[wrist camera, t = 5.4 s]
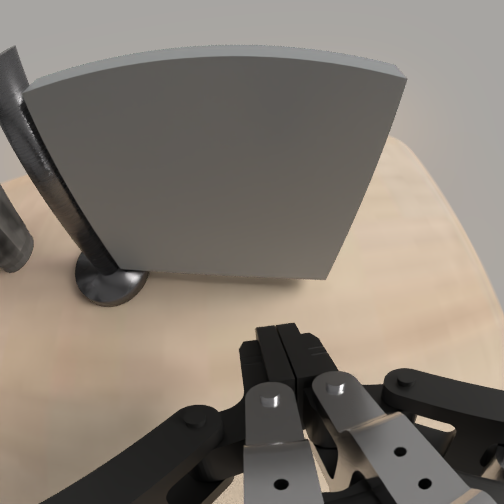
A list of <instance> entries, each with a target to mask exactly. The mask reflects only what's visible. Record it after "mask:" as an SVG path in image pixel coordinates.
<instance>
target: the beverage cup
mask: <svg viewBox="0 0 504 504" xmlns="http://www.w3.org/2000/svg"><path fill="white" fill-rule="evenodd" d="M32 250H33V238H32V236H31V235H30V233H29V231H28V230H27V228H26V226H25V224H24V222H23V221H22V219H21V218H20V216H19V215H18V213H17V212H16V210H15V208H14V207H13V205H12V203H11V202H10V200H9V198H8V197H7V195H6V193H5V192H4V190H3V188H2V186H1V185H0V268H2V269H4V270H5V271H6V272H9V273H11V272H15V271H17V270H19V269H20V268H21V267H22V266H24V264H25V263H26V262H27V261H28V259H29V257H30V255H31V253H32Z"/></svg>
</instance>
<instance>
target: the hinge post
mask: <svg viewBox="0 0 504 504" xmlns="http://www.w3.org/2000/svg"><path fill="white" fill-rule="evenodd" d="M29 86H30V85H29V83H28V80H27V78H26V75H25V72H24V69H23V67H22V64H21V61H20V58H19V55H18V52H17V49H16V46H13V47H11V48H9V49H7V50H5V51H3V52H2V53H0V126H1V127H2V130H3V131H4V133H5V135H6V137H7V139H8V141H9V143H10V145H11V146H12V148H13V150H14V151H15V153H16V155H17V157H18V159H19V160H20V162H21V164H22V165H23V167H24V168H25V170H26V172H27V174H28V175H29V177H30V178H31V180H32V182H33V183H34V185H35V186H36V188H37V189H38V191H39V193H40V194H41V196H42V197H43V199H44V200H45V202H46V203H47V204H48V206H49V207H50V209H51V210H52V212H53V213H54V215H55V216H56V217H57V219H58V220H59V222H60V223H61V224H62V226H63V227H64V228H65V230H66V231H67V233H68V234H69V235H70V237H71V238H72V239H73V241H74V242H75V243H76V244H77V246H78V247H79V248H80V250H81V251H82V253H81V254H80V256H79V258H78V261H77V264H76V269H75V278H76V282H77V285H78V287H79V289H80V291H81V292H82V293H83V294H84V295H85V296H86V297H87V298H88V299H89V300H90V301H92V302H93V303H95V304H97V305H100V306H104V307H113V306H118V305H121V304H123V303H125V302H127V301H129V300H130V299H132V298H133V297H134V296H135V295H137V293H138V292H139V291H140V290H141V289H142V287H143V286H144V284H145V282H146V280H147V278H148V274H149V271H142V270H128V269H120V267H119V266H118V264H117V263H116V262H115V260H114V259H113V257H112V256H111V254H110V253H109V252H108V250H107V249H106V247H105V246H104V244H103V243H102V241H101V240H100V238H99V237H98V235H97V234H96V232H95V231H94V229H93V227H92V226H91V224H90V223H89V221H88V220H87V218H86V216H85V215H84V213H83V212H82V210H81V208H80V207H79V205H78V203H77V202H76V200H75V198H74V197H73V195H72V193H71V192H70V190H69V188H68V186H67V185H66V183H65V181H64V179H63V178H62V176H61V174H60V172H59V170H58V169H57V167H56V165H55V163H54V161H53V159H52V157H51V155H50V153H49V152H48V150H47V148H46V146H45V144H44V142H43V140H42V138H41V136H40V134H39V132H38V129H37V127H36V125H35V123H34V121H33V119H32V117H31V114H30V112H29V110H28V108H27V105H26V103H25V101H24V98H23V96H22V93H23V92H24V91H25V90H26V89H27V88H28V87H29Z"/></svg>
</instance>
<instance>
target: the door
mask: <svg viewBox="0 0 504 504" xmlns="http://www.w3.org/2000/svg"><path fill="white" fill-rule="evenodd" d="M406 82H407V78H406V77H405V75H404V74H403V73H402V72H401V71H400V70H399V68H398V67H397V66H396V65H394V64H390V63H386V62H381V61H377V60H373V59H368V58H363V57H358V56H353V55H347V54H342V53H336V52H329V51H322V50H314V49H305V48H295V47H282V46H265V45H264V46H263V45H211V46H193V47H181V48H171V49H163V50H155V51H148V52H141V53H135V54H129V55H123V56H118V57H114V58H109V59H104V60H100V61H96V62H92V63H87V64H83V65H80V66H76V67H72V68H69V69H66V70H62V71H59V72H56V73H53V74H50V75H47V76H44V77H41V78H38V79H36V80H35V81H34V82H33V83H32V84H31V85H30V86H29V87H28V88H27V89H26V90H25V91H24V92H23V93H22V96H23V98H24V101H25V103H26V105H27V108H28V110H29V112H30V114H31V117H32V119H33V121H34V123H35V125H36V127H37V129H38V132H39V134H40V136H41V138H42V140H43V142H44V144H45V146H46V148H47V150H48V152H49V153H50V155H51V157H52V159H53V161H54V163H55V165H56V167H57V169H58V170H59V172H60V174H61V176H62V178H63V179H64V181H65V183H66V185H67V186H68V188H69V190H70V192H71V193H72V195H73V197H74V198H75V200H76V202H77V203H78V205H79V207H80V208H81V210H82V212H83V213H84V215H85V216H86V218H87V220H88V221H89V223H90V224H91V226H92V227H93V229H94V231H95V232H96V234H97V235H98V237H99V238H100V240H101V241H102V243H103V244H104V246H105V247H106V249H107V250H108V252H109V253H110V254H111V256H112V257H113V259H114V260H115V262H116V263H117V264H118V266H119V267H120V269H128V270H142V271H156V272H172V273H188V274H205V275H223V276H243V277H264V278H288V279H315V280H326V278H327V276H328V274H329V272H330V270H331V268H332V266H333V264H334V262H335V260H336V257H337V255H338V253H339V251H340V249H341V247H342V245H343V243H344V240H345V238H346V236H347V234H348V232H349V229H350V227H351V225H352V223H353V220H354V218H355V216H356V214H357V211H358V209H359V207H360V204H361V202H362V200H363V197H364V195H365V193H366V190H367V188H368V185H369V183H370V181H371V178H372V176H373V173H374V171H375V168H376V166H377V163H378V161H379V158H380V155H381V153H382V150H383V148H384V145H385V142H386V140H387V137H388V134H389V132H390V129H391V126H392V123H393V120H394V117H395V115H396V112H397V109H398V106H399V103H400V100H401V97H402V94H403V91H404V88H405V85H406Z"/></svg>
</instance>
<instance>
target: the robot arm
mask: <svg viewBox="0 0 504 504" xmlns="http://www.w3.org/2000/svg"><path fill="white" fill-rule="evenodd" d="M239 353H240V361H241V369H242V377H243V385H244V396H243V398H242V399H241V401H240V402H239V403H238V404H236V405H235V406H233V407H232V408H229V409H227V410H224V411H221V412H218V411H217V410H216V409H214V408H212V407H210V406H206V405H192V406H187V407H185V408H182V409H180V410H179V411H177V412H176V413H175V414H173V415H172V416H171V417H169V418H168V419H167V420H166V421H164V422H163V423H162V424H160V425H159V426H158V427H156V428H155V429H153V430H152V431H151V432H149V433H148V434H147V435H145V436H144V437H143V438H141V439H140V440H138V441H137V442H136V443H134V444H133V445H131V446H130V447H128V448H127V449H126V450H124V451H123V452H121V453H120V454H118V455H117V456H115V457H114V458H112V459H111V460H110V461H108V462H107V463H105V464H104V465H102V466H100V467H99V468H97V469H96V470H94V471H93V472H91V473H90V474H88V475H87V476H85V477H83V478H82V479H80V480H79V481H77V482H75V483H74V484H72V485H70V486H69V487H67V488H65V489H64V490H62V491H60V492H59V493H57V494H55V495H54V496H52V497H50V498H48V499H47V500H45V501H43V502H41V503H39V504H212V503H213V502H214V501H215V500H216V499H217V498H218V497H219V496H220V495H221V494H222V492H223V491H224V490H225V489H226V488H227V487H228V486H229V485H230V484H231V483H232V481H233V479H234V476H235V475H238V474H241V473H244V504H504V391H503V390H498V389H493V388H488V387H484V386H479V385H475V384H470V383H466V382H461V381H457V380H453V379H449V378H445V377H441V376H437V375H433V374H429V373H425V372H421V371H417V370H414V369H408V368H401V369H396V370H393V371H391V372H389V373H388V374H387V375H386V376H385V379H384V383H383V384H378V385H361V384H360V382H359V381H358V380H357V379H356V378H355V377H354V376H353V375H351V374H349V373H346V372H342V371H338V369H337V367H336V366H335V364H334V362H333V361H332V359H331V358H330V356H329V354H328V353H327V351H326V350H325V348H324V347H323V345H322V343H321V342H320V340H319V338H317V337H316V336H314V335H312V334H311V333H305V334H300V332H299V330H298V328H297V326H296V324H295V323H288V324H281V325H276V326H274V325H273V326H265V327H257V328H256V340H253V341H245V342H243V344H242V345H241V347H240V348H239ZM417 415H419V416H423V417H426V418H430V419H433V420H437V421H440V422H444V423H448V424H451V425H452V426H454V427H455V430H453V431H451V432H444V431H440V430H436V429H433V428H429V427H426V426H423V425H419V424H416V423H415V421H416V418H417ZM304 429H306V431H307V434H308V437H309V439H310V440H308V439H305V438H304V434H303V430H304ZM312 452H313V454H314V457H315V459H316V461H317V463H318V465H319V467H320V469H321V471H322V473H323V476H324V478H325V480H326V482H327V484H328V487H329V490H330V492H322V493H321V488H320V484H319V480H318V475H317V471H316V467H315V463H314V458H313V454H312Z"/></svg>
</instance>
